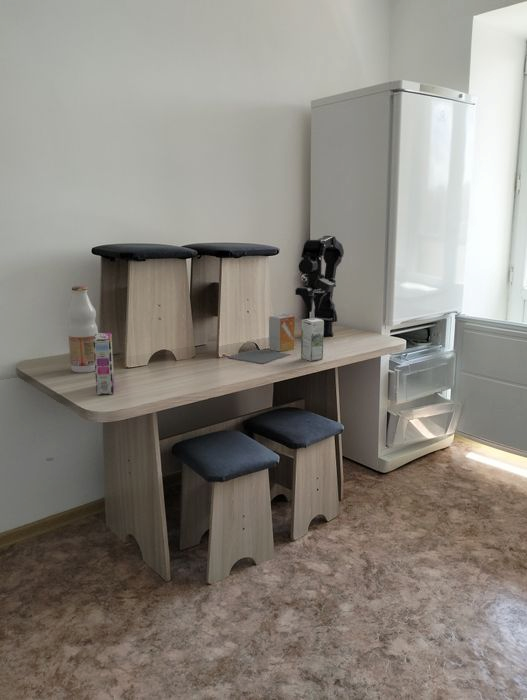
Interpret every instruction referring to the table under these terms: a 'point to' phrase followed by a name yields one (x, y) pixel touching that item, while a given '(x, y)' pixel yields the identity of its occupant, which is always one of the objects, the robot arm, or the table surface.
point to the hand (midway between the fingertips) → (313, 310)
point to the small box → (281, 332)
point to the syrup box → (312, 339)
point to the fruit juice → (81, 331)
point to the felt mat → (259, 356)
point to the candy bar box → (104, 363)
